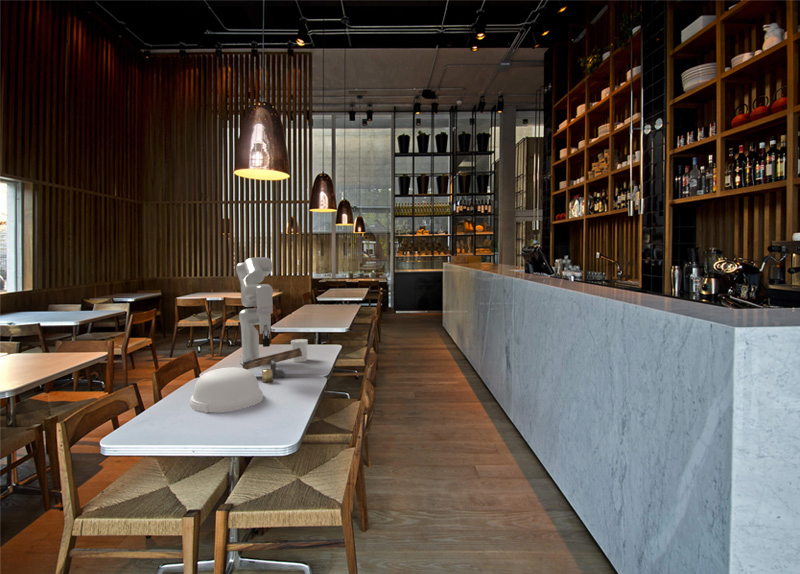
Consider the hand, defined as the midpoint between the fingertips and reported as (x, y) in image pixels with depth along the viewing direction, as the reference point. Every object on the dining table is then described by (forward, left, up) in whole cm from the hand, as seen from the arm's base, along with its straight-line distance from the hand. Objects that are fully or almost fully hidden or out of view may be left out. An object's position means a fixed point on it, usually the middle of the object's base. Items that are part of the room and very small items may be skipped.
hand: (266, 344), depth 239 cm
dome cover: (+13, -29, -19) cm, 37 cm away
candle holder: (-25, +40, -19) cm, 51 cm away
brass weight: (0, 0, -19) cm, 19 cm away
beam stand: (-9, +10, -19) cm, 23 cm away
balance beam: (-9, +10, -11) cm, 17 cm away
